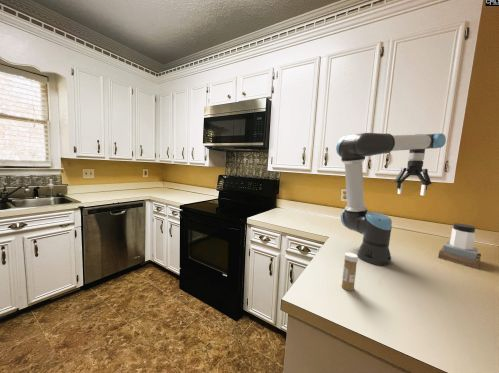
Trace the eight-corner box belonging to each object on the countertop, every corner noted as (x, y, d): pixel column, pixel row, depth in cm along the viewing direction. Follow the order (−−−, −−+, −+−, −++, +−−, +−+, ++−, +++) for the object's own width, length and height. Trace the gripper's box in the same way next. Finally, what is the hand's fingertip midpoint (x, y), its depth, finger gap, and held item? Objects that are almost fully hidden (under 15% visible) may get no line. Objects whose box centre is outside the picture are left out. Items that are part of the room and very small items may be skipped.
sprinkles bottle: (354, 292, 79) (358, 258, 78) (341, 289, 81) (345, 255, 79) (353, 286, 83) (357, 253, 82) (341, 283, 85) (344, 251, 83)
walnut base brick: (478, 269, 104) (479, 260, 104) (438, 257, 116) (439, 250, 115) (479, 261, 114) (481, 253, 114) (442, 251, 125) (444, 244, 125)
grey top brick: (475, 260, 106) (476, 253, 106) (443, 251, 115) (444, 245, 115) (476, 254, 114) (477, 248, 114) (446, 247, 123) (447, 241, 123)
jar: (459, 244, 119) (463, 223, 117) (476, 250, 111) (480, 228, 109) (445, 244, 118) (449, 223, 117) (461, 250, 110) (465, 227, 108)
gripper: (432, 161, 132) (427, 195, 134) (390, 159, 134) (386, 192, 136) (442, 161, 124) (436, 197, 127) (398, 159, 126) (393, 194, 129)
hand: (410, 194), depth 132 cm, fingers open, 13 cm apart
